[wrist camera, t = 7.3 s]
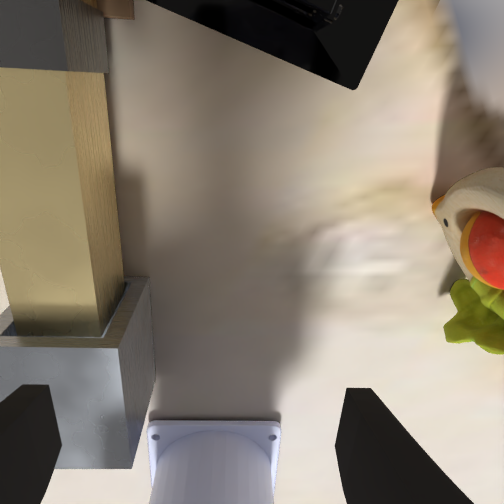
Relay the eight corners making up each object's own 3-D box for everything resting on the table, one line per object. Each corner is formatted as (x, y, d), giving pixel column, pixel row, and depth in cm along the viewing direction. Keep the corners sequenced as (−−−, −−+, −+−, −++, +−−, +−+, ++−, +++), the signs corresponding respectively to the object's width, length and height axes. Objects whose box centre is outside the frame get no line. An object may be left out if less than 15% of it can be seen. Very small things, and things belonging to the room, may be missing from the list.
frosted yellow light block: (129, 289, 18) (103, 339, 15) (54, 287, 18) (11, 337, 15) (94, -76, 13) (40, -137, 9) (-15, -85, 12) (-114, -150, 9)
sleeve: (156, 378, 22) (131, 468, 17) (61, 377, 21) (7, 469, 16) (149, 277, 19) (117, 348, 14) (41, 274, 19) (-31, 346, 14)
